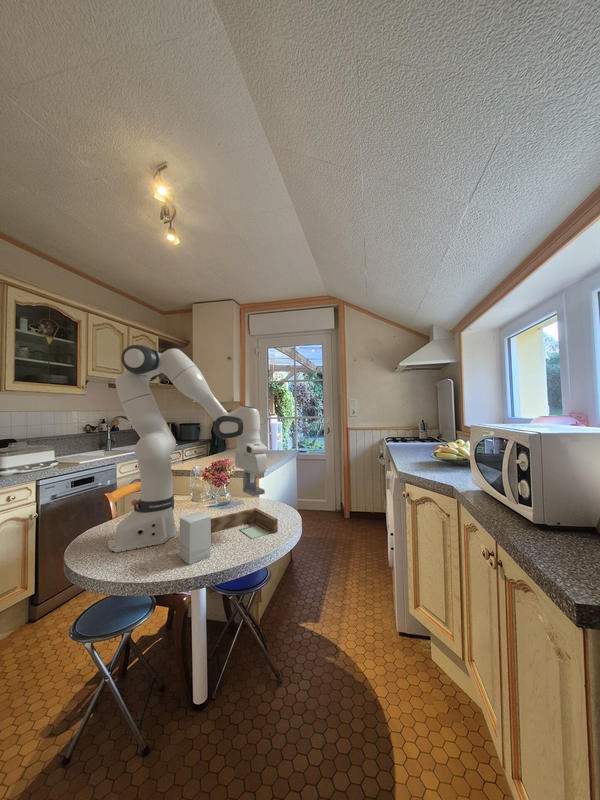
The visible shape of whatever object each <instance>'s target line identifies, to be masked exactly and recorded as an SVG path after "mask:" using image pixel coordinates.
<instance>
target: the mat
mask: <svg viewBox="0 0 600 800" xmlns="http://www.w3.org/2000/svg"><path fill="white" fill-rule="evenodd" d="M239 531H240V532H241V533H243V534H244V535H246V536H247V537H248V538H250V540H251V539H252V540H253V539H257V538H260V537H263V536H266V535H269V532H268V531H266V530H264V529H263V528H261V527H260V526H257V525H256V524H254V525H251V526H247V527H244V528H239Z"/></svg>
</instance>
